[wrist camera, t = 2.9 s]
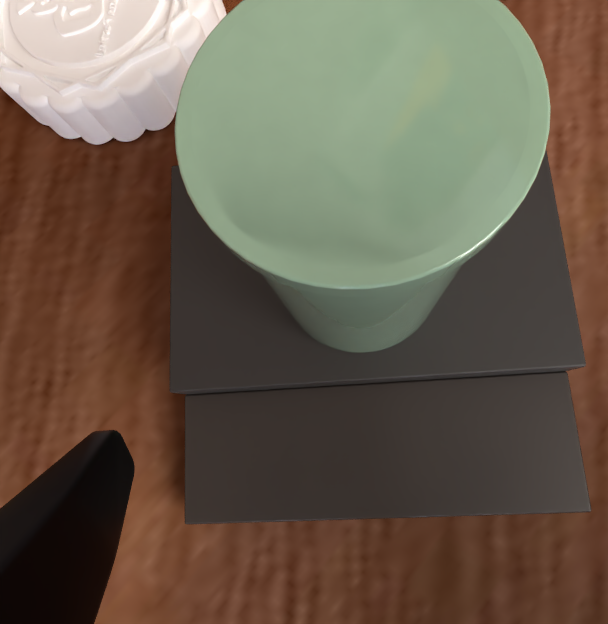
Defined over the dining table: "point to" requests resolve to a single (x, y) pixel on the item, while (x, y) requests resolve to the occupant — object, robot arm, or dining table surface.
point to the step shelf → (380, 389)
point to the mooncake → (101, 61)
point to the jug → (361, 150)
